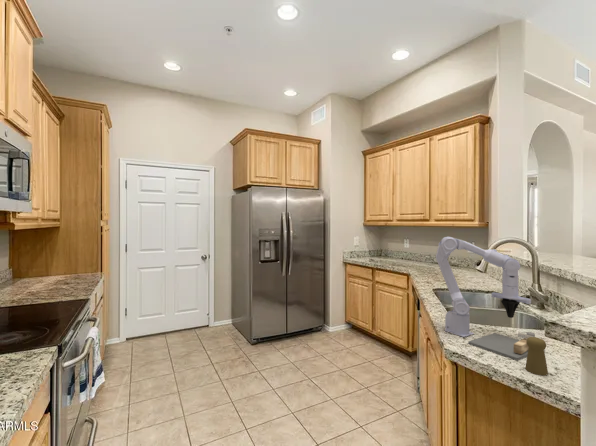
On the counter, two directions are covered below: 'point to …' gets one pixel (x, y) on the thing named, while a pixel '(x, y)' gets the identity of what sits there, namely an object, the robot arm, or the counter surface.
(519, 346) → the link
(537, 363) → the cork
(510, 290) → the robot arm
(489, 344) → the base plate
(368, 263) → the counter surface
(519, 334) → the keeper
